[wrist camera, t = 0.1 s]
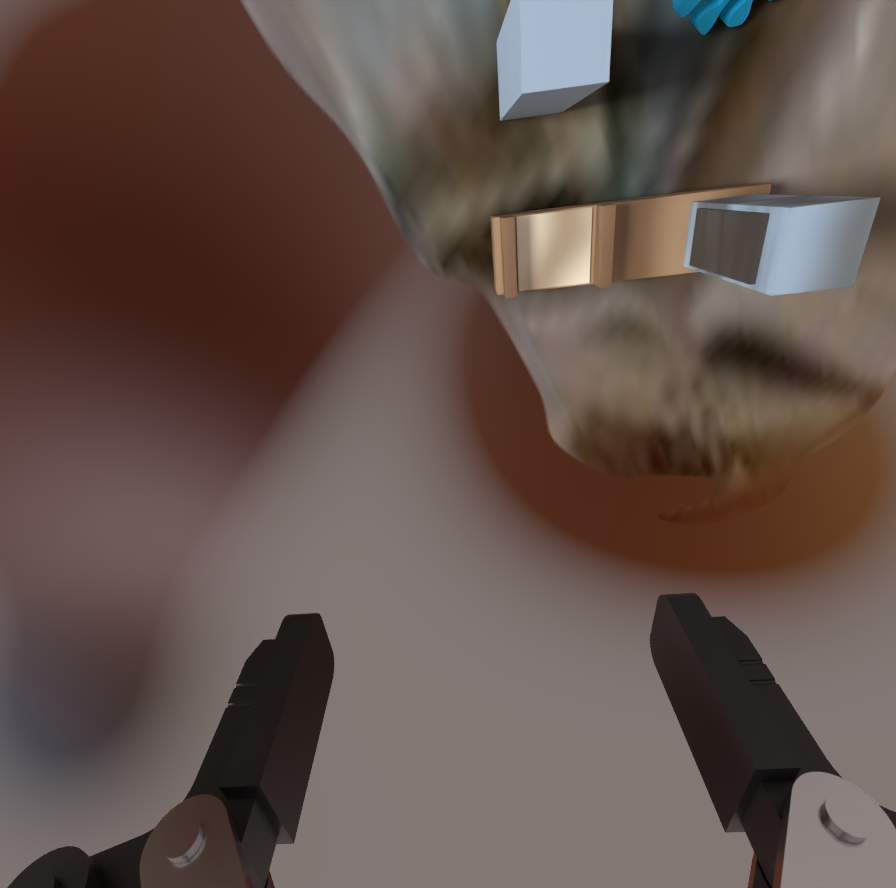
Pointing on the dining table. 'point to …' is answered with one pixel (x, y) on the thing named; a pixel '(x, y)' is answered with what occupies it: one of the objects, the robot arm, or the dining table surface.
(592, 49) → the light grey block
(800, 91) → the dining table surface
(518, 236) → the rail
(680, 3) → the gear
